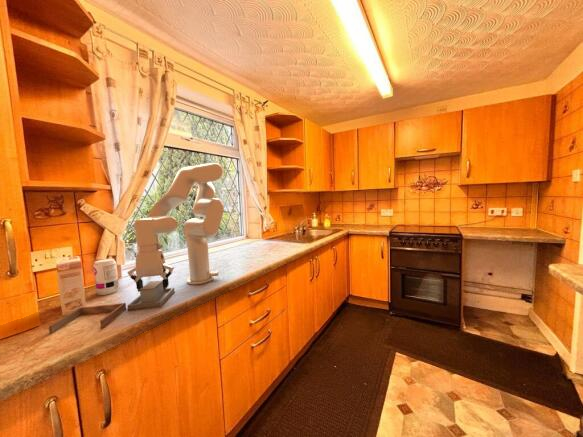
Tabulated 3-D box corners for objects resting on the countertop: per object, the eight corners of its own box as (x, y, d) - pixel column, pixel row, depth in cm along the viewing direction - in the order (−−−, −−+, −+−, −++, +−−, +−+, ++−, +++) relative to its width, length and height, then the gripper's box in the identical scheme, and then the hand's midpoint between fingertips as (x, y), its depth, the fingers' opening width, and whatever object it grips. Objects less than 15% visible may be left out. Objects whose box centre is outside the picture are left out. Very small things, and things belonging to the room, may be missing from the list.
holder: (126, 309, 91) (125, 302, 91) (103, 327, 78) (102, 320, 77) (80, 313, 89) (80, 307, 89) (49, 333, 75) (48, 326, 75)
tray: (174, 291, 107) (174, 287, 107) (160, 307, 91) (160, 302, 91) (146, 294, 105) (146, 290, 105) (127, 310, 90) (127, 305, 90)
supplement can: (94, 297, 105) (90, 263, 104) (99, 291, 112) (95, 260, 111) (117, 293, 109) (113, 260, 107) (120, 287, 116) (117, 257, 115)
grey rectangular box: (164, 294, 103) (163, 280, 103) (155, 303, 94) (153, 288, 93) (151, 295, 102) (150, 281, 102) (140, 304, 93) (139, 289, 93)
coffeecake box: (87, 309, 92) (81, 260, 91) (61, 316, 87) (55, 264, 86) (84, 299, 103) (78, 255, 101) (61, 305, 98) (55, 258, 96)
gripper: (174, 244, 101) (178, 283, 103) (130, 248, 99) (135, 288, 101) (167, 248, 94) (172, 290, 96) (120, 252, 92) (125, 295, 93)
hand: (153, 289), depth 98 cm, fingers open, 9 cm apart
